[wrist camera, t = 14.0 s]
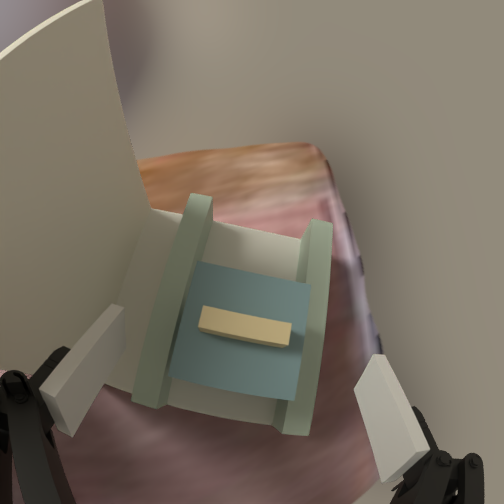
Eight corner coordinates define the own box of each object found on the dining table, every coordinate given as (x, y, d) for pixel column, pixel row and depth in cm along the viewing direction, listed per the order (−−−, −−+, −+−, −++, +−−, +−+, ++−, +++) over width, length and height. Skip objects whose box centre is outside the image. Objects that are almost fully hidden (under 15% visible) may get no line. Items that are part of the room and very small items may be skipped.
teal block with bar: (191, 376, 22) (162, 375, 11) (206, 310, 24) (195, 250, 13) (261, 391, 22) (301, 402, 11) (273, 324, 24) (318, 276, 13)
